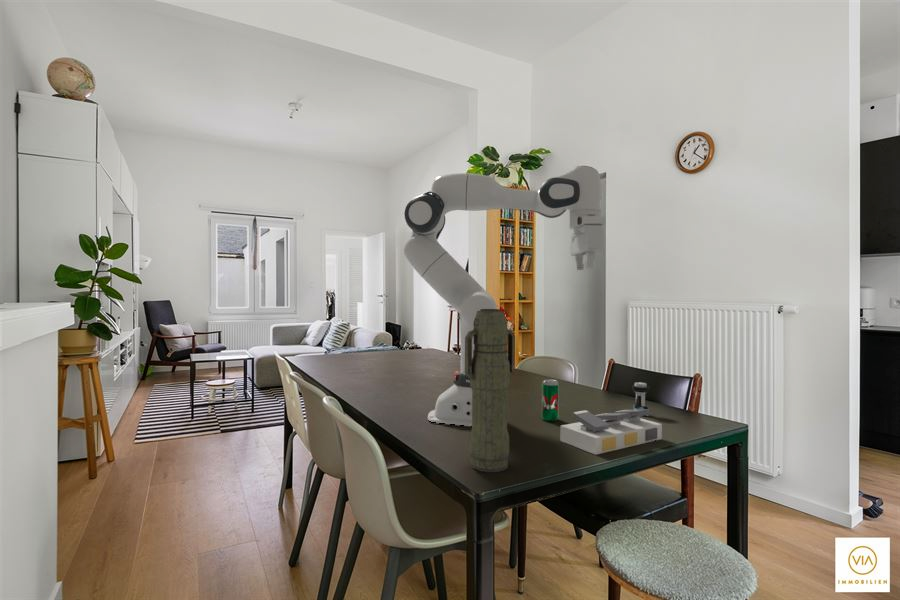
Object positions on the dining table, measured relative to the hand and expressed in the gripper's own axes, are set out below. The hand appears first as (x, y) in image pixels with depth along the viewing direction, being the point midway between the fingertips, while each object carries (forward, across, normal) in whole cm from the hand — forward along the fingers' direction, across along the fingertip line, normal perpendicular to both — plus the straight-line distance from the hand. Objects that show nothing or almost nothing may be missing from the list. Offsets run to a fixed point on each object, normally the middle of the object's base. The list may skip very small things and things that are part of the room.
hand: (584, 269), depth 137 cm
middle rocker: (+40, +15, +3) cm, 43 cm away
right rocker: (+40, +11, +10) cm, 43 cm away
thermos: (+46, +34, -31) cm, 65 cm away
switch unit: (+46, +15, +3) cm, 48 cm away
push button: (+46, -11, +22) cm, 52 cm away
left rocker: (+40, +19, -4) cm, 44 cm away
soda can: (+46, -4, -9) cm, 47 cm away
